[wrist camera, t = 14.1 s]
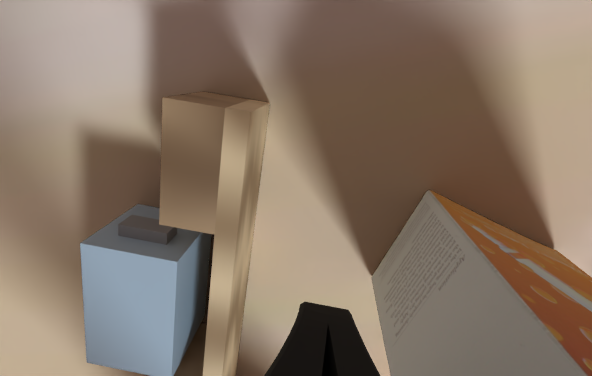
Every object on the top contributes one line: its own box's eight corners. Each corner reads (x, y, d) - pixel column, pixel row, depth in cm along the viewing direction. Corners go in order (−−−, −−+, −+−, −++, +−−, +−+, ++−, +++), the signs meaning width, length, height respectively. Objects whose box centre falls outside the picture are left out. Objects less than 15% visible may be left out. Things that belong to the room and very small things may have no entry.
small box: (558, 248, 19) (1008, 594, 6) (487, 332, 21) (720, 717, 8) (426, 184, 18) (630, 419, 6) (367, 276, 20) (424, 594, 8)
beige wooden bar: (230, 414, 25) (210, 484, 20) (183, 404, 25) (153, 472, 21) (269, 102, 18) (250, 112, 13) (202, 91, 18) (162, 97, 13)
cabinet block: (205, 315, 22) (171, 379, 18) (137, 301, 22) (86, 362, 18) (214, 207, 20) (177, 250, 15) (138, 193, 20) (79, 231, 15)
